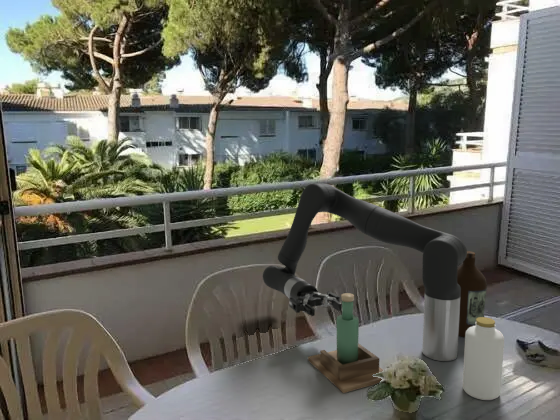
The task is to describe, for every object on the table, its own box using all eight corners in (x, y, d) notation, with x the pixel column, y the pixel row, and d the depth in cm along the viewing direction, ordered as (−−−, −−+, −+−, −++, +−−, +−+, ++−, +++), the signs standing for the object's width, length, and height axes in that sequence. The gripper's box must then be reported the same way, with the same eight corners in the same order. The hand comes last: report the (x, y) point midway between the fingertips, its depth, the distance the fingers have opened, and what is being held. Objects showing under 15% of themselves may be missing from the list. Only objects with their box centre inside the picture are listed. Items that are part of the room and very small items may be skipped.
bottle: (343, 358, 127) (343, 290, 124) (362, 364, 123) (362, 294, 120) (332, 367, 122) (332, 296, 119) (352, 373, 119) (352, 300, 116)
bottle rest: (307, 360, 128) (307, 344, 127) (351, 349, 134) (351, 334, 133) (343, 393, 112) (343, 375, 111) (391, 379, 118) (391, 362, 117)
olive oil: (439, 328, 148) (443, 250, 143) (464, 322, 152) (469, 246, 148) (465, 341, 138) (469, 259, 134) (491, 334, 142) (497, 254, 138)
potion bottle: (504, 404, 107) (509, 329, 104) (465, 400, 108) (469, 326, 105) (495, 384, 115) (500, 314, 112) (459, 381, 116) (463, 312, 113)
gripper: (279, 283, 141) (304, 301, 127) (320, 277, 147) (349, 293, 133) (279, 307, 143) (304, 327, 128) (320, 300, 148) (348, 318, 134)
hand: (327, 310), depth 130 cm, fingers open, 8 cm apart
